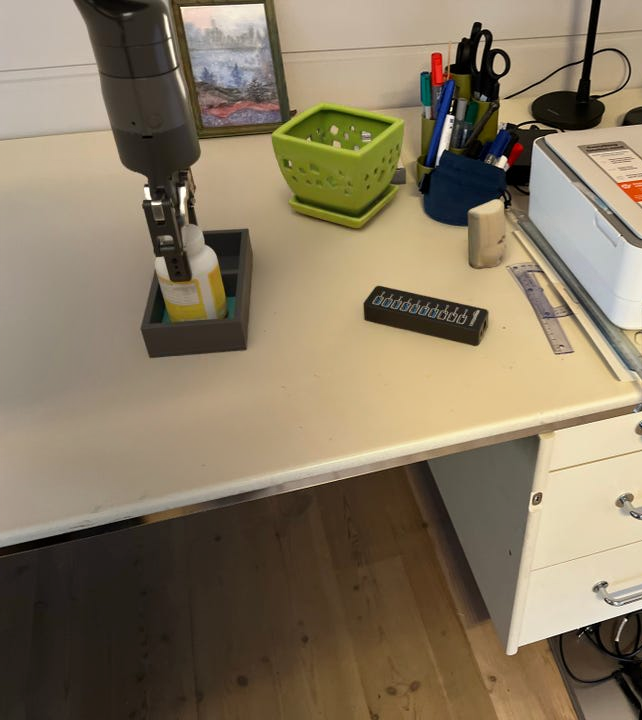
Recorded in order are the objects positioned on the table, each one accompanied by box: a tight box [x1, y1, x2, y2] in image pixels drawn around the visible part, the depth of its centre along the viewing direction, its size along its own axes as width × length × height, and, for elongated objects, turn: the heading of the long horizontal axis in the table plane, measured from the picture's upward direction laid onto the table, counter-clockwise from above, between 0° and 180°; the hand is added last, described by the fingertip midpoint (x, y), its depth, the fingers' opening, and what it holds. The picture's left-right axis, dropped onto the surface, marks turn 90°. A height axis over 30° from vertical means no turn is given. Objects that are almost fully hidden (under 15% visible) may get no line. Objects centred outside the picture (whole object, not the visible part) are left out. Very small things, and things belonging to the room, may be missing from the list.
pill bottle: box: [154, 224, 229, 322], centre depth 83 cm, size 6×6×12 cm
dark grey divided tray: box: [140, 227, 254, 359], centre depth 90 cm, size 20×10×4 cm, turn 11°
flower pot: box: [270, 101, 405, 229], centre depth 106 cm, size 14×14×13 cm
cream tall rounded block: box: [467, 198, 507, 269], centre depth 99 cm, size 6×5×8 cm
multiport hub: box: [362, 285, 490, 347], centre depth 90 cm, size 4×14×2 cm, turn 73°
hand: (186, 258), depth 82 cm, fingers open, 8 cm apart
